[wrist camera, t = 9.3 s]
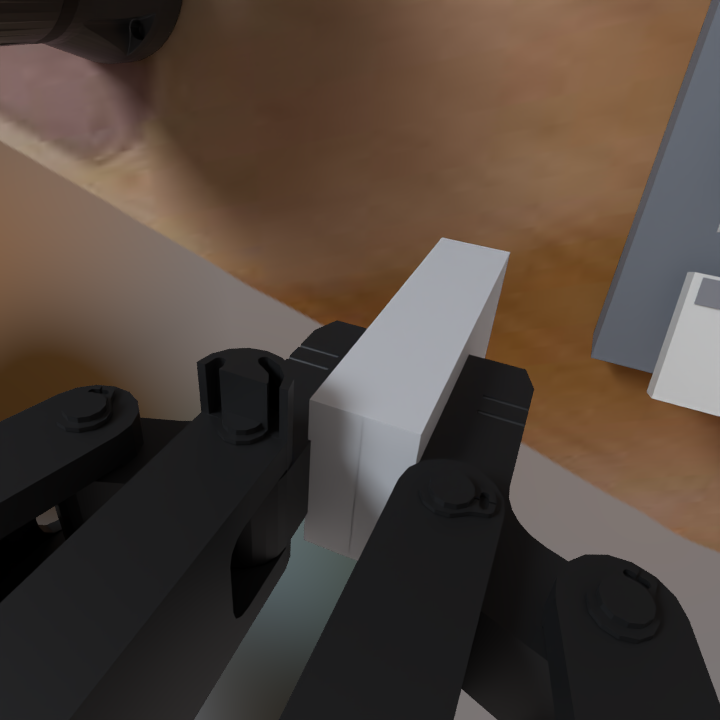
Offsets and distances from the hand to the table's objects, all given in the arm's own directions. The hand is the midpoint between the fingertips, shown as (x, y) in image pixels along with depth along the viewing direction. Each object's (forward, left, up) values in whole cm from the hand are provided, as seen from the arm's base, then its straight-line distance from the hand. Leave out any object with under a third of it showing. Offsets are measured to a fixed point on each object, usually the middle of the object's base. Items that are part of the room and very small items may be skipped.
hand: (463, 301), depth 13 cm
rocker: (+12, -11, -25) cm, 30 cm away
